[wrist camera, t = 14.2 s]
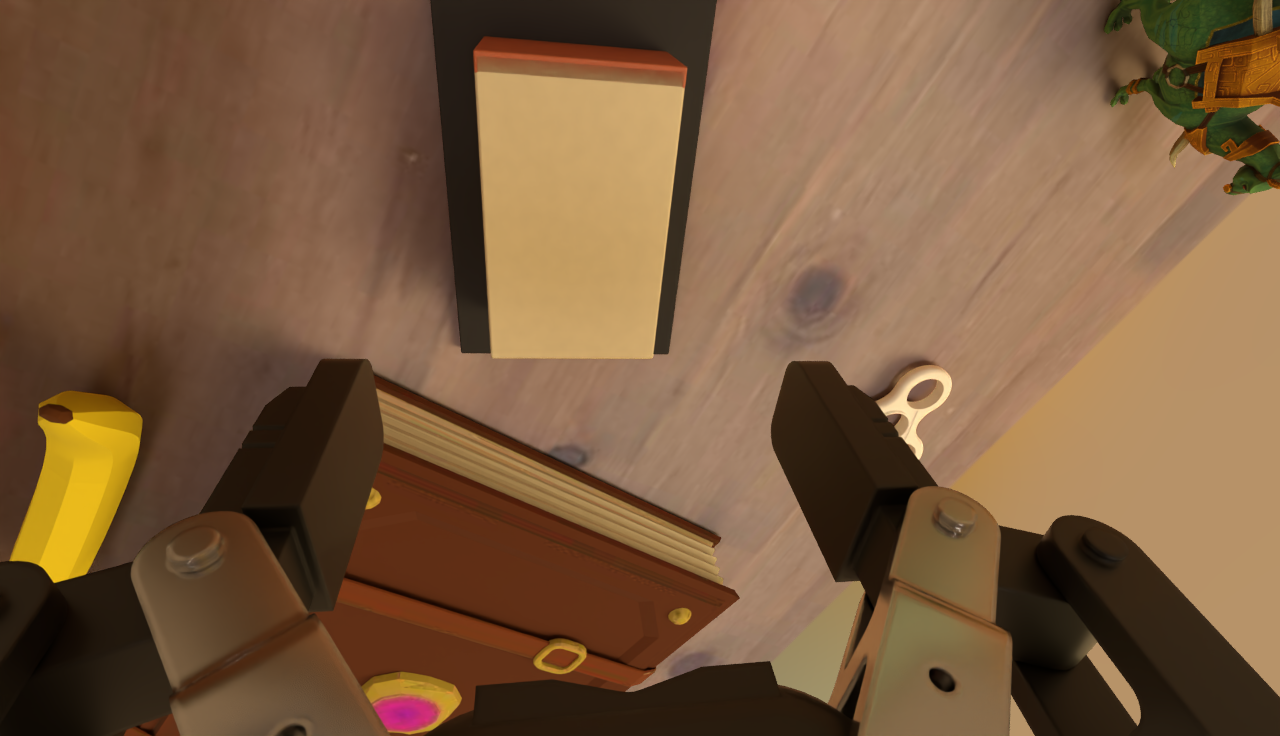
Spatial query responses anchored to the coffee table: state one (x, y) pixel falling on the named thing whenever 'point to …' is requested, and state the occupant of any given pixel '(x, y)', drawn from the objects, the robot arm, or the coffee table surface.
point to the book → (503, 574)
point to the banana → (78, 481)
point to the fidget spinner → (917, 409)
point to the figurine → (1214, 79)
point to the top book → (575, 194)
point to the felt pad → (567, 13)
